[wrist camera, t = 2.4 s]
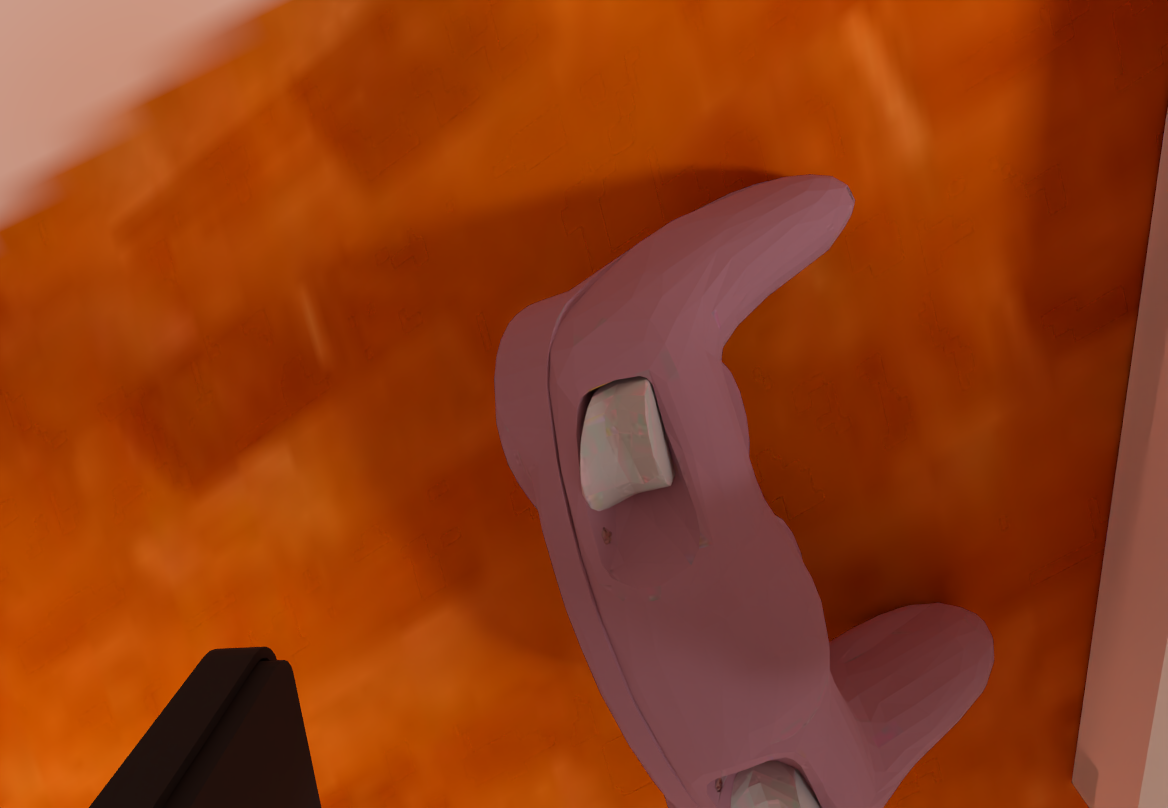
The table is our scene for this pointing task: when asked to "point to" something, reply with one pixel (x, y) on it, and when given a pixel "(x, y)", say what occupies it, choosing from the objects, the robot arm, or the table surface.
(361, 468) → the table surface
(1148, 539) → the tray
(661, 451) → the video game controller
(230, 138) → the table surface
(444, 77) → the table surface
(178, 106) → the table surface
